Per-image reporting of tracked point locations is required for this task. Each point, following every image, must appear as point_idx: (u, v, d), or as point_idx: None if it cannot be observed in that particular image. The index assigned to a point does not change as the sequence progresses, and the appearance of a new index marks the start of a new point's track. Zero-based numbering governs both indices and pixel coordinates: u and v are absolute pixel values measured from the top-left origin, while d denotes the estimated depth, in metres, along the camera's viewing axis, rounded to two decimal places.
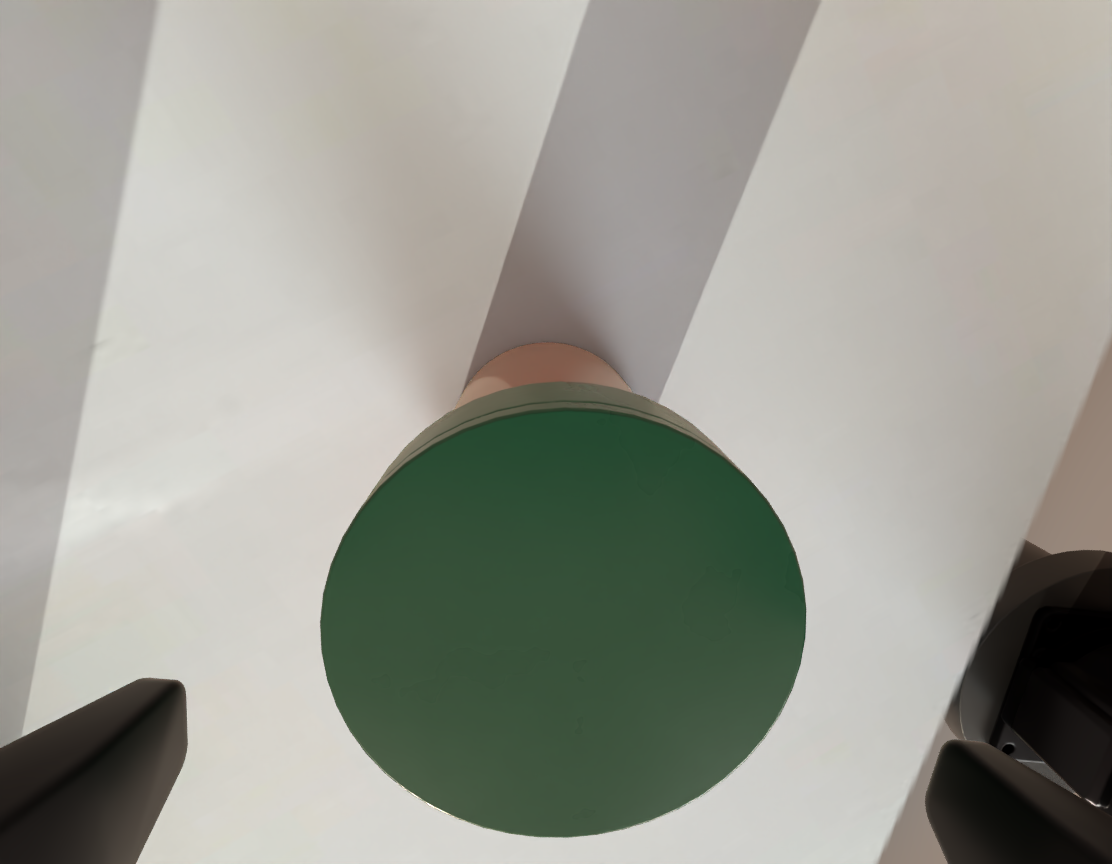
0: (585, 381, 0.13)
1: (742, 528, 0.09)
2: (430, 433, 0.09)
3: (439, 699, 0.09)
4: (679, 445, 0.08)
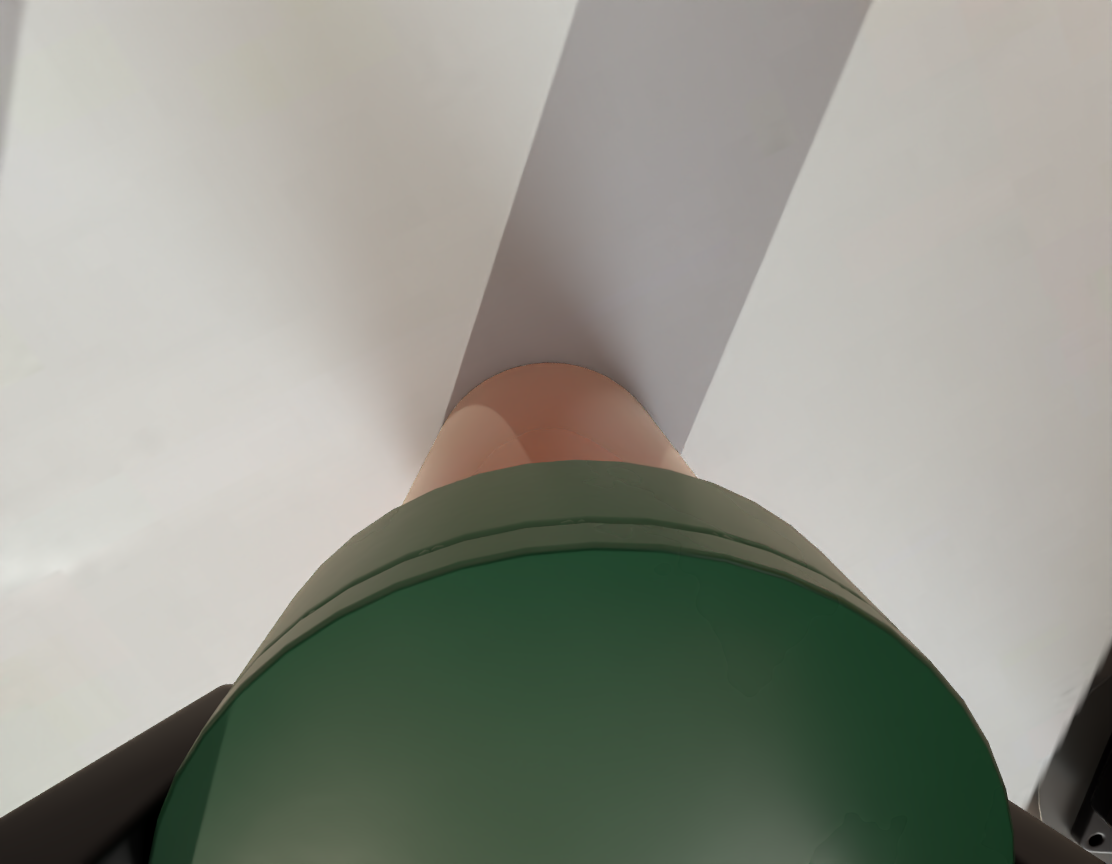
0: (605, 431, 0.09)
1: (915, 749, 0.05)
2: (351, 560, 0.05)
3: None
4: (809, 609, 0.04)
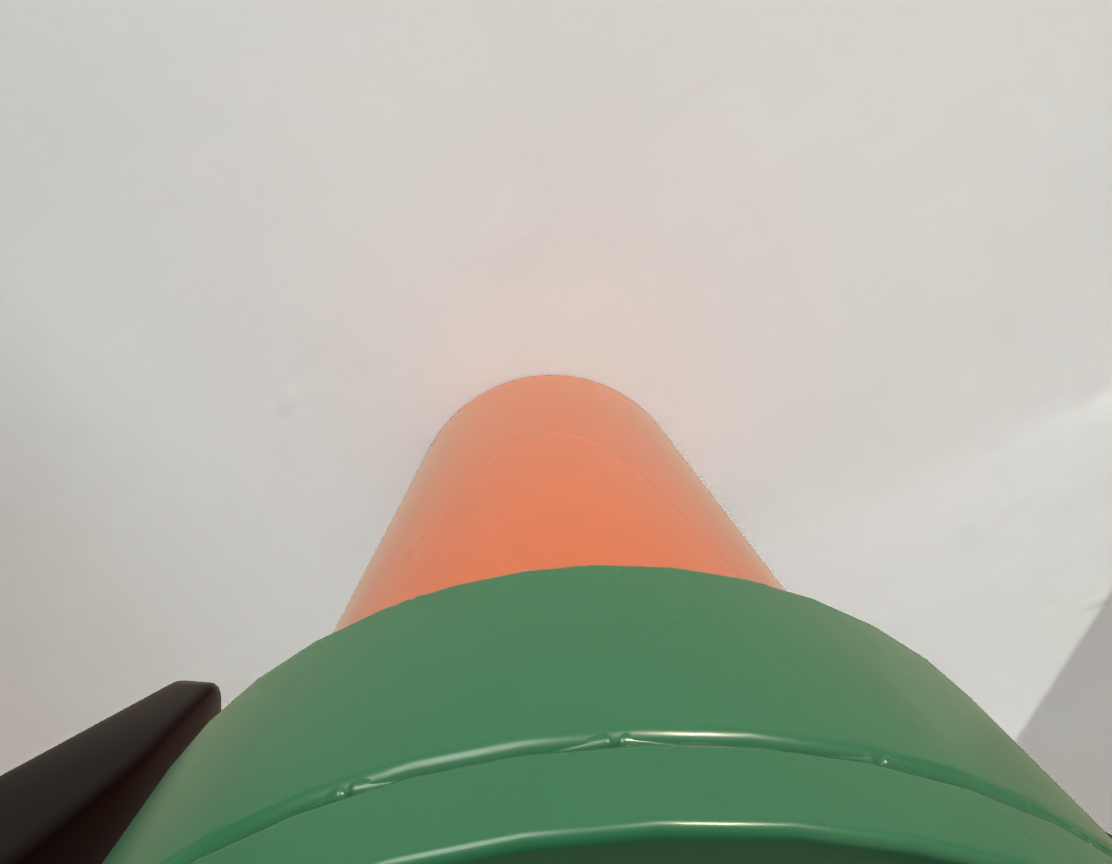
0: None
1: None
2: (231, 755, 0.03)
3: None
4: None
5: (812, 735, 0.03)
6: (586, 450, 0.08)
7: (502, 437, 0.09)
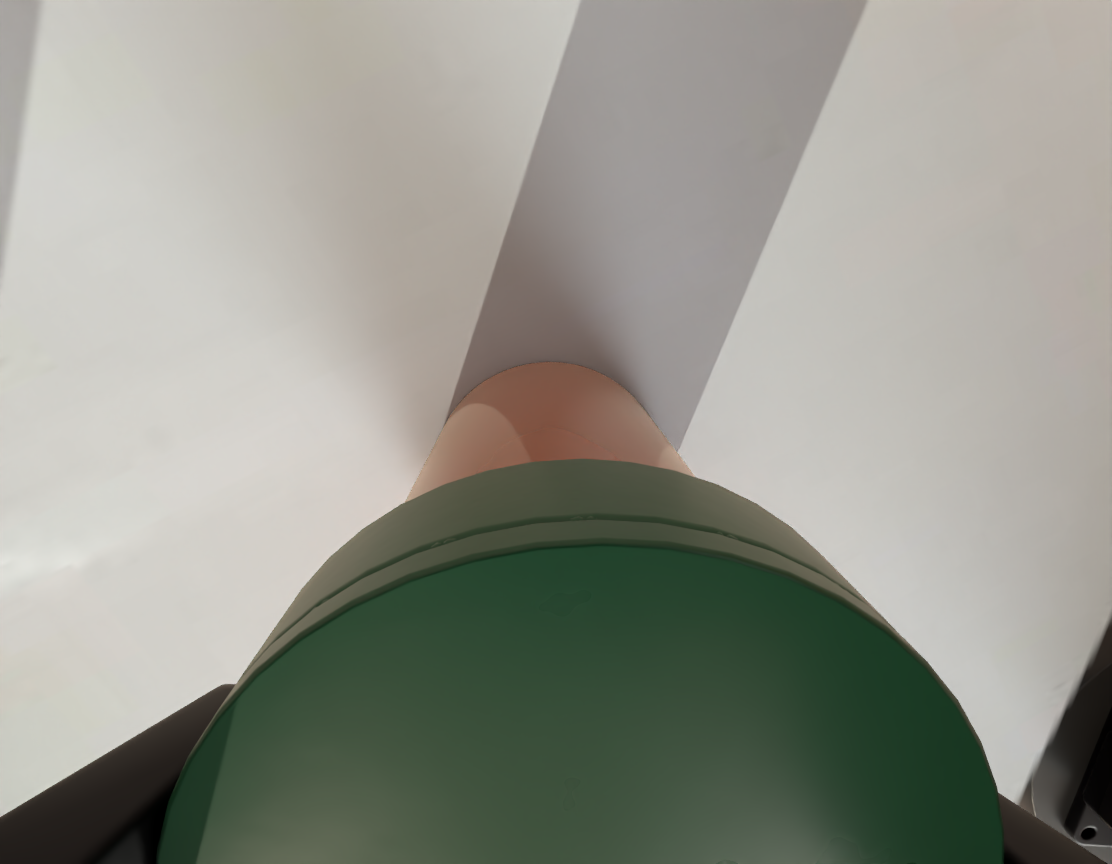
0: (603, 427, 0.10)
1: None
2: None
3: (823, 844, 0.05)
4: None
5: None
6: None
7: None
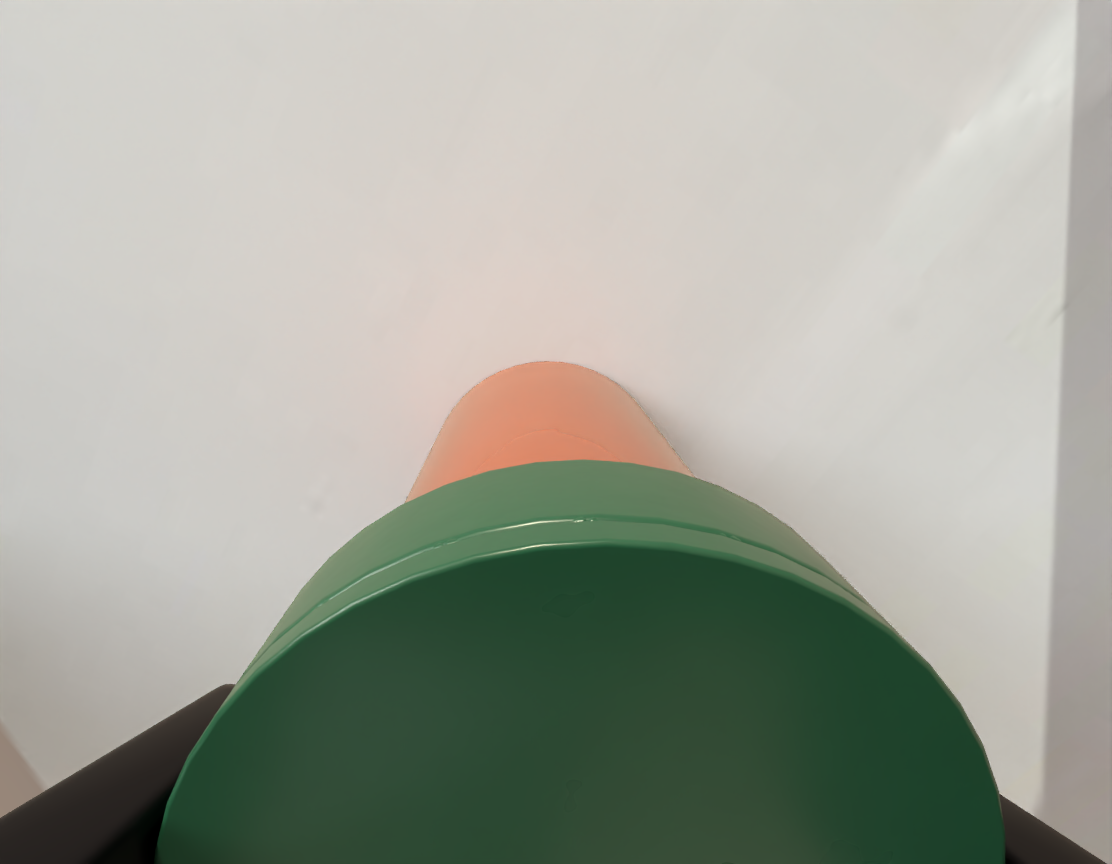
0: None
1: None
2: None
3: (825, 846, 0.05)
4: None
5: None
6: (485, 427, 0.10)
7: (439, 447, 0.11)
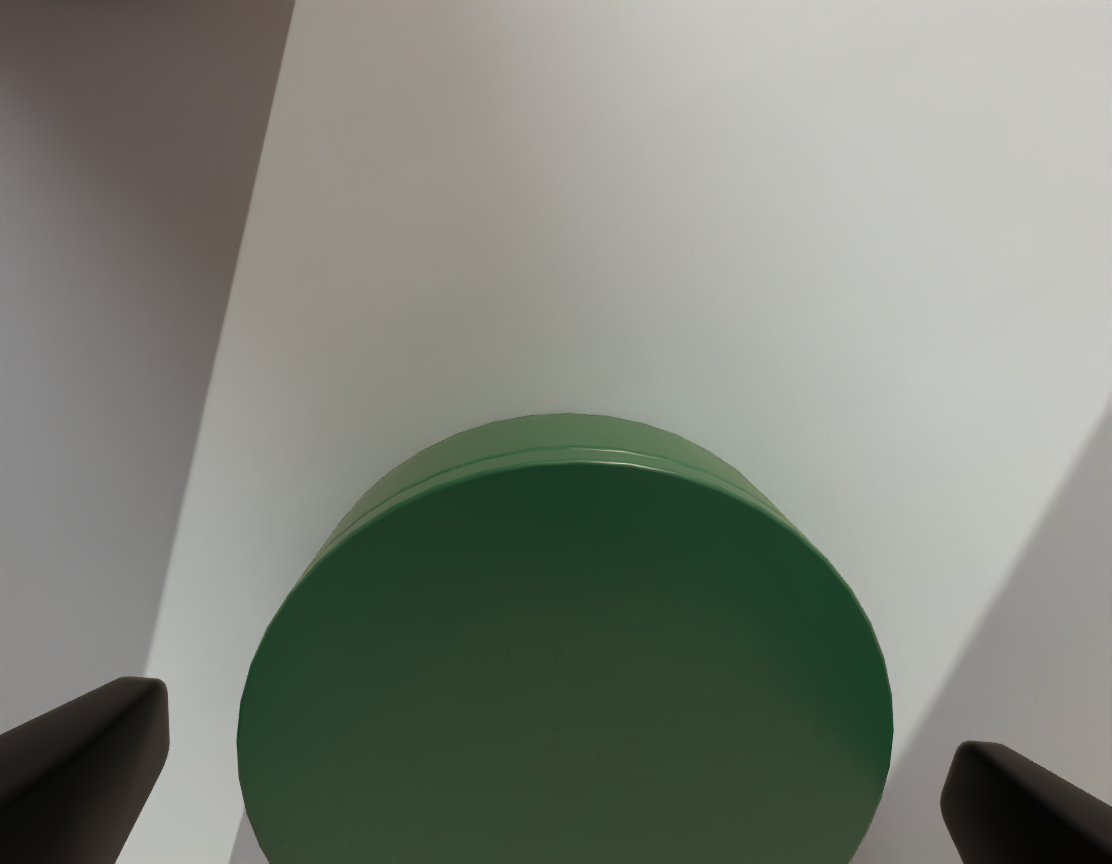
0: None
1: None
2: None
3: (751, 703, 0.07)
4: None
5: None
6: None
7: None
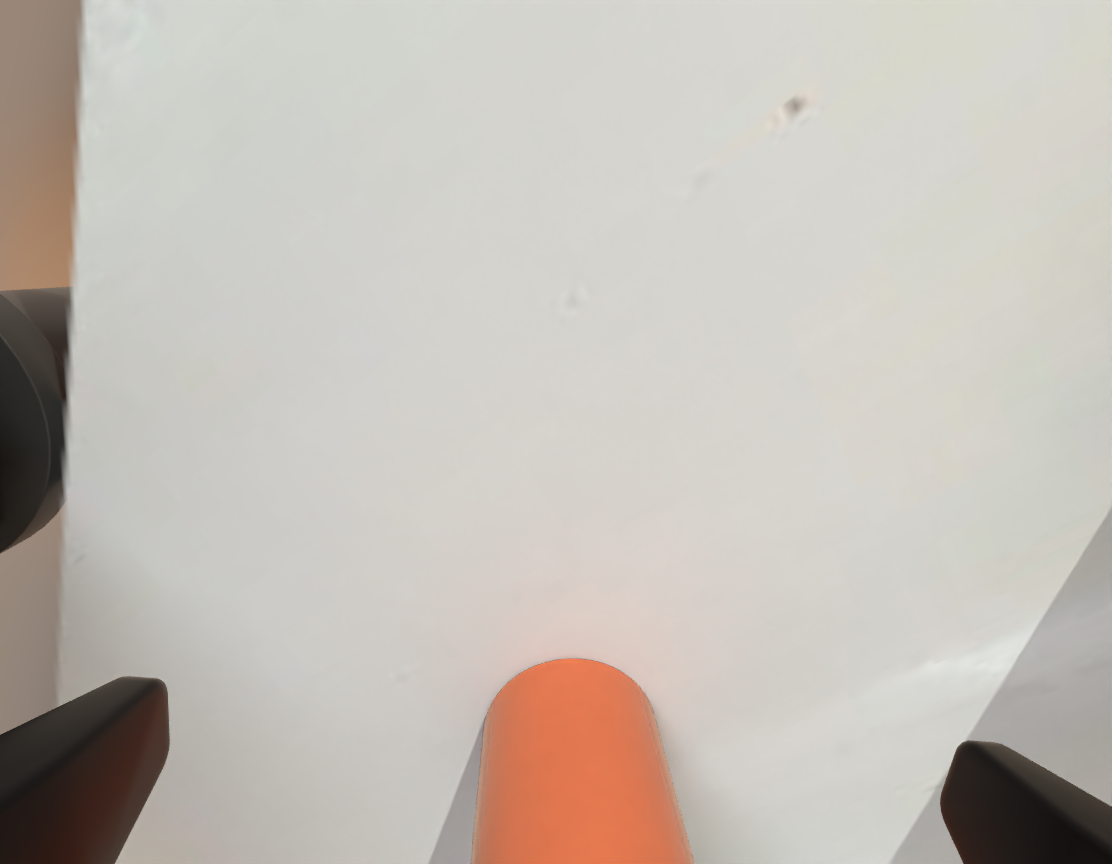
0: None
1: None
2: None
3: None
4: None
5: None
6: (596, 789, 0.16)
7: (549, 762, 0.17)
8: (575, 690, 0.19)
